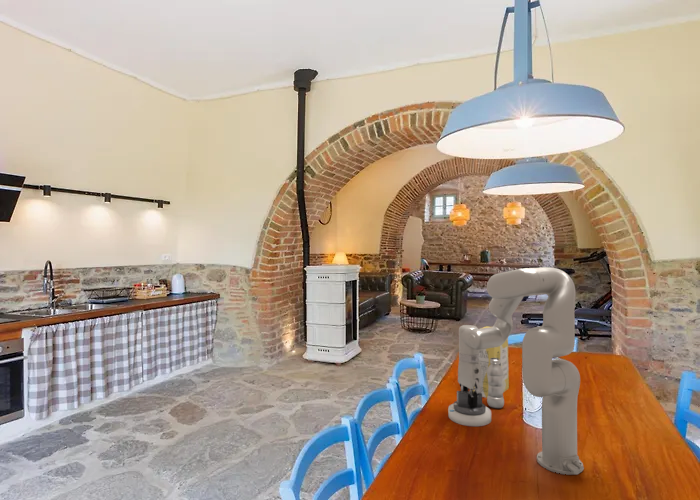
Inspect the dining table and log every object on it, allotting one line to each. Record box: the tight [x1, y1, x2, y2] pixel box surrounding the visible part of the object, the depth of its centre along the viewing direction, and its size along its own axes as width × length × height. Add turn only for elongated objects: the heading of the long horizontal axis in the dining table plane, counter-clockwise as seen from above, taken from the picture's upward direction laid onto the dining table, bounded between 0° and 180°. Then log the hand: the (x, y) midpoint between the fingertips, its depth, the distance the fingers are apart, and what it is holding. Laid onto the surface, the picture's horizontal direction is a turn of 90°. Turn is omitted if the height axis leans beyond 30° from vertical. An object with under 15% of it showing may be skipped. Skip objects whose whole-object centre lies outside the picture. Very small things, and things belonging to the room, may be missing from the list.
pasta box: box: [473, 326, 510, 399], centre depth 188 cm, size 18×10×28 cm, turn 141°
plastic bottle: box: [486, 358, 505, 409], centre depth 169 cm, size 6×7×20 cm
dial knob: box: [453, 390, 487, 415], centre depth 159 cm, size 12×12×6 cm
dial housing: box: [447, 403, 492, 427], centre depth 159 cm, size 16×16×3 cm
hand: (469, 403), depth 159 cm, fingers closed on dial knob, 4 cm apart
